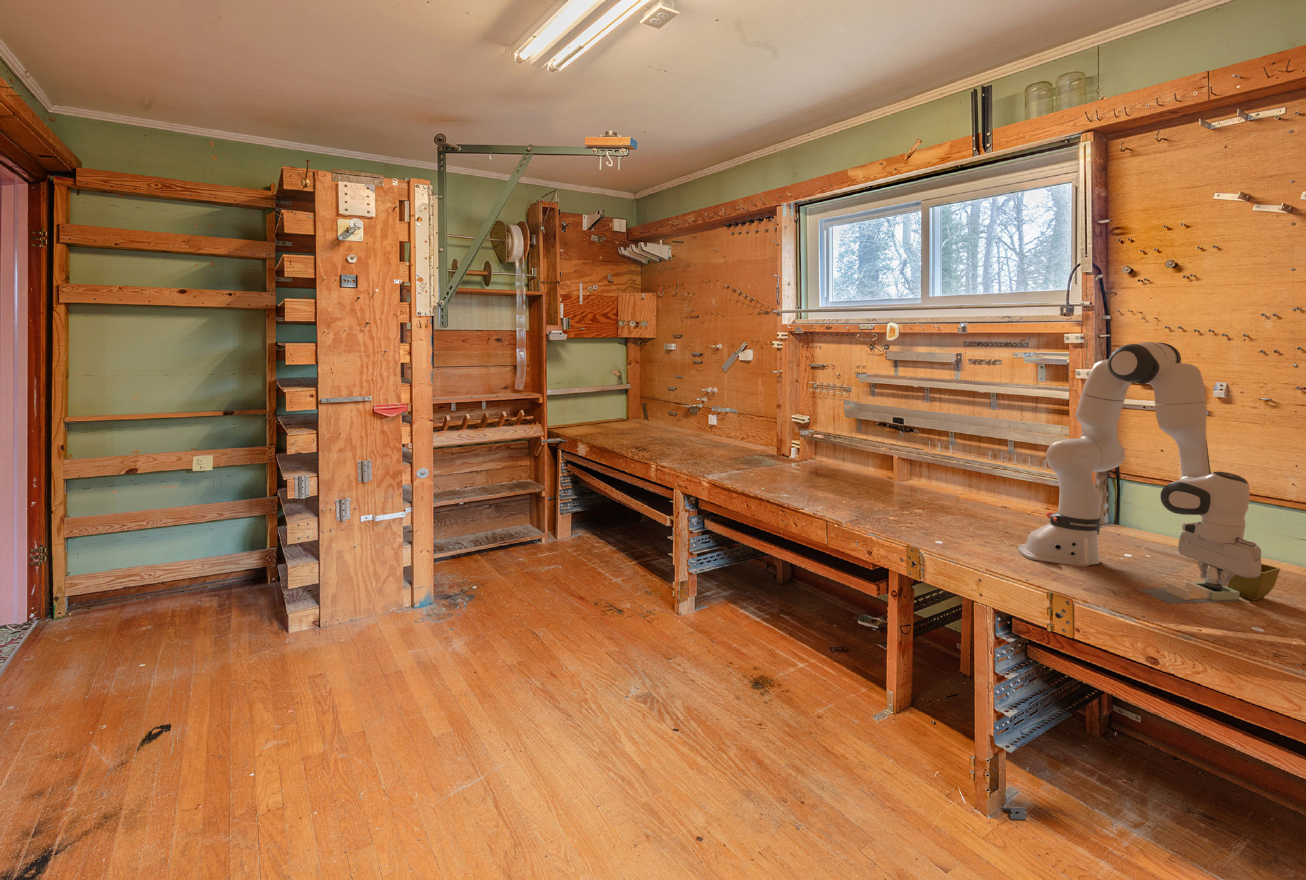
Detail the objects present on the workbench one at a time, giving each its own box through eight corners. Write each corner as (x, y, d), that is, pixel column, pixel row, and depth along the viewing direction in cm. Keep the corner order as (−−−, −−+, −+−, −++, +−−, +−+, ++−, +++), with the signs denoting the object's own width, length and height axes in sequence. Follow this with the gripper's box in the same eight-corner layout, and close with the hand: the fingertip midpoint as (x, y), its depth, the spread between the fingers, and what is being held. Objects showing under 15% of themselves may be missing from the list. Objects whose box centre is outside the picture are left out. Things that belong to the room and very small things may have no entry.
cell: (1207, 592, 175) (1211, 565, 173) (1201, 587, 178) (1205, 561, 177) (1224, 594, 173) (1228, 567, 172) (1217, 589, 177) (1221, 563, 176)
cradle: (1185, 599, 172) (1187, 591, 171) (1165, 591, 178) (1166, 582, 177) (1208, 599, 172) (1210, 590, 172) (1187, 590, 178) (1189, 581, 178)
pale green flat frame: (1213, 600, 172) (1214, 593, 171) (1186, 589, 179) (1187, 582, 179) (1238, 599, 173) (1239, 592, 172) (1211, 588, 180) (1212, 581, 180)
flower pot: (1258, 605, 171) (1263, 572, 170) (1219, 593, 179) (1223, 562, 178) (1275, 600, 175) (1281, 568, 174) (1236, 588, 183) (1241, 558, 182)
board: (1168, 607, 169) (1168, 603, 169) (1135, 592, 179) (1136, 589, 179) (1242, 604, 172) (1243, 601, 171) (1206, 590, 181) (1207, 586, 181)
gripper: (1272, 544, 163) (1264, 596, 165) (1196, 522, 183) (1189, 568, 186) (1250, 545, 163) (1242, 597, 165) (1176, 522, 183) (1170, 569, 185)
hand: (1213, 581), depth 175 cm, fingers closed on cell, 3 cm apart
